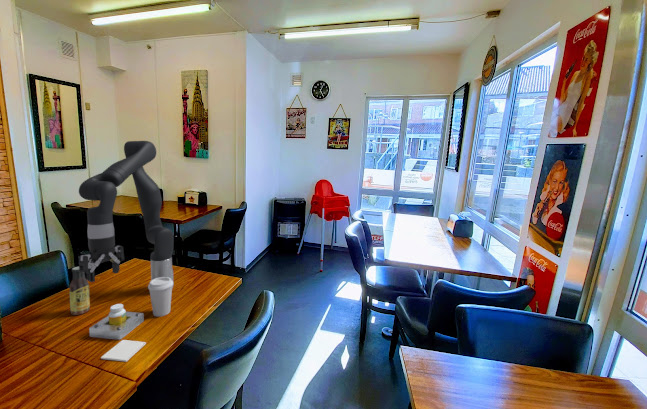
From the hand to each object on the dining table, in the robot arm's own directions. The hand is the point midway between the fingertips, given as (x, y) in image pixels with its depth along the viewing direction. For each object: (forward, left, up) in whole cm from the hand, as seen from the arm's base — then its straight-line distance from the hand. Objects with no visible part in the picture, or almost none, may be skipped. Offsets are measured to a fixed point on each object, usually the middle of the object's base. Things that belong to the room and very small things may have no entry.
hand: (104, 277), depth 99 cm
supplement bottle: (-2, +2, -23) cm, 23 cm away
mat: (+9, +14, -23) cm, 28 cm away
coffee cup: (-15, +11, -23) cm, 30 cm away
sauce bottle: (-10, -22, -23) cm, 33 cm away
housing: (-2, +2, -23) cm, 23 cm away
